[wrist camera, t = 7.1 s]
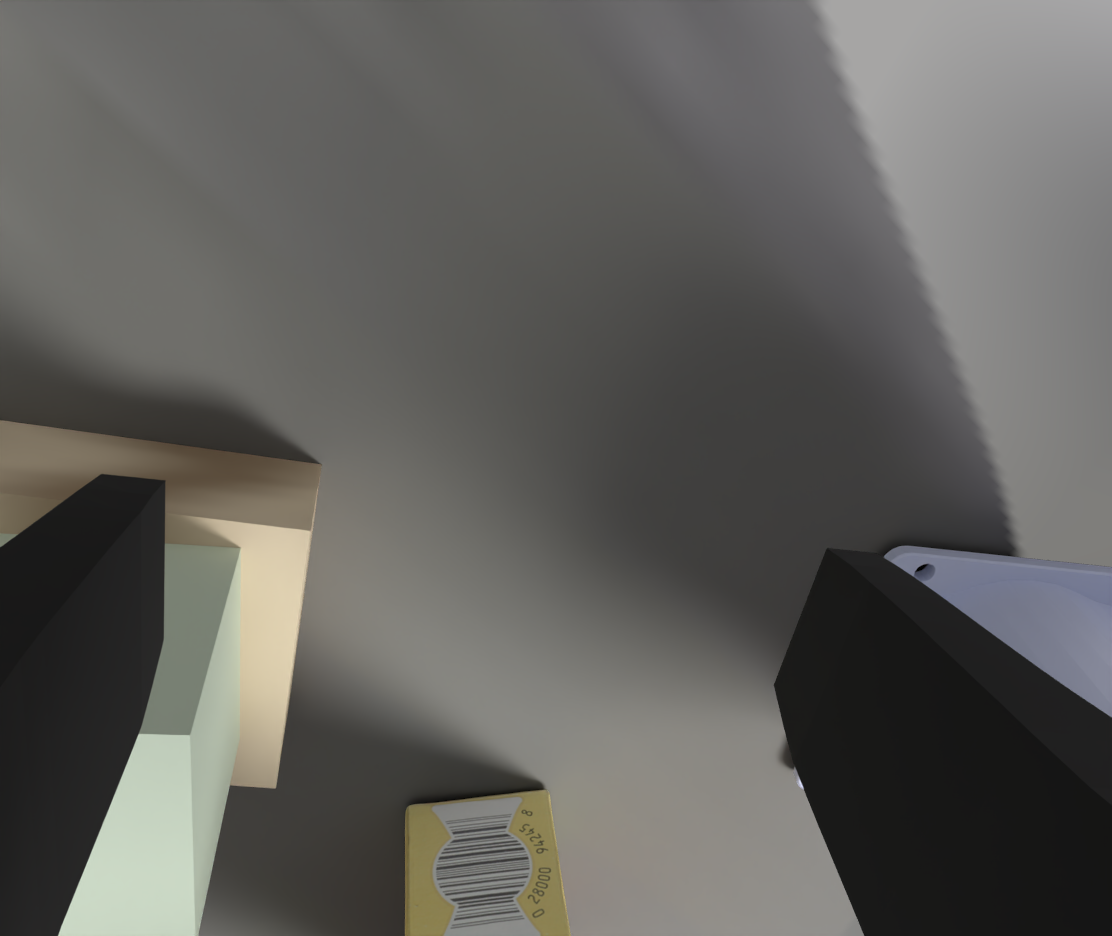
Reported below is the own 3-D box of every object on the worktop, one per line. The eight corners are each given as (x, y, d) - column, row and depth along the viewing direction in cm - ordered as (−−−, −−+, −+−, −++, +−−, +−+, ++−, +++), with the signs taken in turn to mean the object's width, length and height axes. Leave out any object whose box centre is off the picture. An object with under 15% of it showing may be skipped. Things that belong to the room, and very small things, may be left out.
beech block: (322, 455, 22) (310, 531, 20) (290, 696, 25) (275, 788, 23) (-26, 407, 21) (-90, 482, 18) (-13, 669, 24) (-66, 764, 21)
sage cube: (240, 547, 19) (189, 735, 15) (240, 738, 22) (195, 947, 18) (-41, 530, 19) (-180, 724, 14) (-10, 731, 21) (-120, 949, 17)
